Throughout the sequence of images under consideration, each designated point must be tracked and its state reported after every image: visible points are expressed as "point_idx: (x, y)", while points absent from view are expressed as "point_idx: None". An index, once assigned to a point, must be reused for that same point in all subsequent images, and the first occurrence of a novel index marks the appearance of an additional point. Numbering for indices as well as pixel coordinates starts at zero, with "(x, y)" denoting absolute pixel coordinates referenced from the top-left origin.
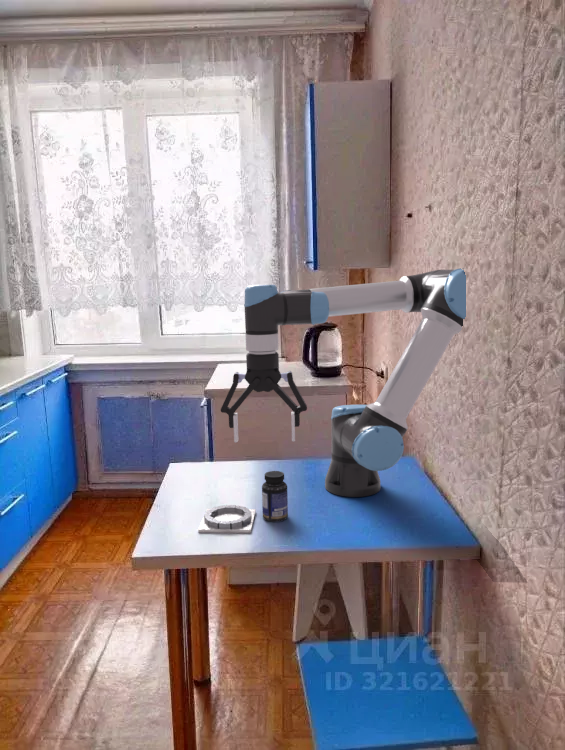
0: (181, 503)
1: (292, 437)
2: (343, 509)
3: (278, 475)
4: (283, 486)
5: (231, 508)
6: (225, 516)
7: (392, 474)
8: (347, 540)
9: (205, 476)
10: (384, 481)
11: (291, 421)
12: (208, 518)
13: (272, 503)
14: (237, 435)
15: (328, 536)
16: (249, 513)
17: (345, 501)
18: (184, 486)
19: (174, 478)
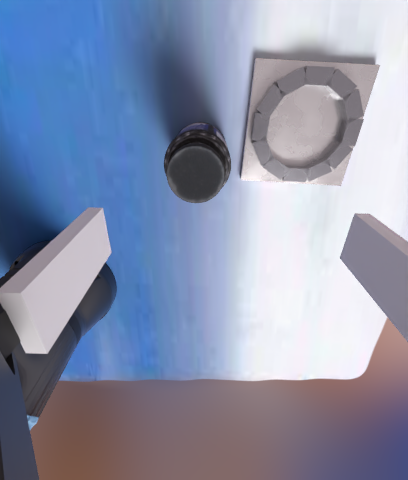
0: None
1: (92, 215)
2: (68, 187)
3: (182, 160)
4: (171, 147)
5: (294, 167)
6: (307, 142)
7: None
8: (29, 6)
9: (321, 333)
10: None
11: (52, 261)
12: (355, 102)
13: (203, 126)
14: (366, 238)
15: (76, 34)
16: (257, 131)
17: None
18: (363, 298)
19: (375, 328)
